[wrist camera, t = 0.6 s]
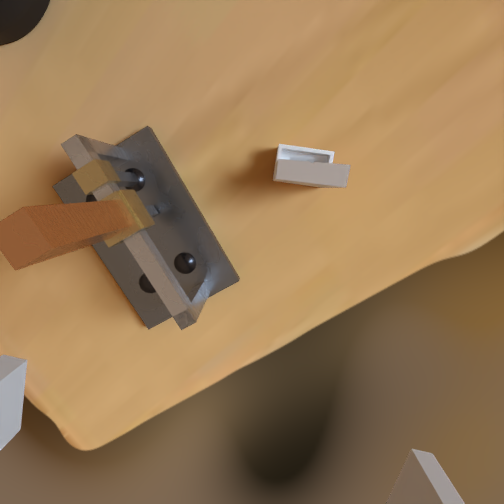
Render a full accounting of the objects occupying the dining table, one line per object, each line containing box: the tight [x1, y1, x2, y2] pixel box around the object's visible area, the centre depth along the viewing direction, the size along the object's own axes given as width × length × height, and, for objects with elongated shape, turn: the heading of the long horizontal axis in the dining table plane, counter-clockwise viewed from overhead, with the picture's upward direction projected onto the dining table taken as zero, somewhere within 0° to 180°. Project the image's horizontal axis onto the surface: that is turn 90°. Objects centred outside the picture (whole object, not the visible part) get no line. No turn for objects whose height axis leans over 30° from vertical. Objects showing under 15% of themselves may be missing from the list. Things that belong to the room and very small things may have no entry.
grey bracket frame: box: [61, 134, 210, 330], centre depth 31 cm, size 19×2×9 cm, turn 29°
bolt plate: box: [53, 126, 240, 329], centre depth 36 cm, size 20×13×1 cm, turn 29°
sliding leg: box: [0, 190, 158, 270], centre depth 25 cm, size 4×4×20 cm
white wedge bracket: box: [273, 144, 350, 188], centre depth 31 cm, size 4×10×9 cm
